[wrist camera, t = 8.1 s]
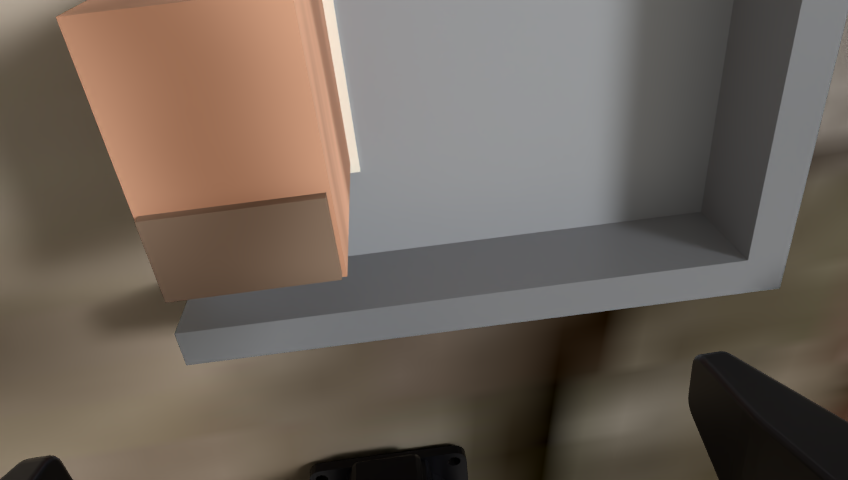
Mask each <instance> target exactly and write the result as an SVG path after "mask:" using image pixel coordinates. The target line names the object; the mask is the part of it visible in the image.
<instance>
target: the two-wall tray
mask: <svg viewBox="0 0 848 480" xmlns="http://www.w3.org/2000/svg"><path fill="white" fill-rule="evenodd" d="M322 2H323V8H324V13H325V19H326V25H327V31H328V37H329V42H330V48H331V54H332V60H333V66H334V71H335V77H336V83H337V89H338V95H339V101H340V106H341V112H342V118H343V124H344V130H345V135H346V141H347V147H348V153H349V159H350V199H349V237H348V274H347V277H342V280H337V281H329V282H321V283H314V284H306V285H298V286H291V287H283V288H275V289H268V290H260V291H252V292H244V293H237V294H229V295H221V296H214V297H206V298H198V299H191V300H187V303H186V305H185V308H184V311H183V313H182V316H181V318H180V321H179V323H178V326H177V329H176V331H175V337H176V339H177V342H178V345H179V347H180V350H181V352H182V355H183V358H184V360H185V363H186V365H192V364H200V363H208V362H215V361H223V360H231V359H238V358H246V357H254V356H262V355H269V354H277V353H285V352H292V351H300V350H308V349H316V348H323V347H331V346H339V345H346V344H354V343H362V342H370V341H377V340H385V339H393V338H400V337H408V336H416V335H424V334H431V333H439V332H447V331H454V330H462V329H470V328H478V327H485V326H493V325H501V324H508V323H516V322H524V321H532V320H539V319H547V318H555V317H562V316H570V315H578V314H586V313H593V312H601V311H609V310H616V309H624V308H632V307H640V306H647V305H655V304H663V303H670V302H678V301H686V300H694V299H701V298H709V297H717V296H724V295H732V294H740V293H748V292H755V291H763V290H771V289H778V288H780V285H781V281H782V277H783V273H784V269H785V265H786V261H787V257H788V253H789V249H790V245H791V241H792V237H793V233H794V229H795V225H796V221H797V216H798V212H799V208H800V204H801V200H802V196H803V192H804V188H805V184H806V180H807V176H808V172H809V168H810V164H811V160H812V156H813V152H814V148H815V144H816V140H817V136H818V132H819V128H820V124H821V119H822V115H823V111H824V107H825V103H826V99H827V95H828V91H829V87H830V83H831V79H832V75H833V71H834V67H835V63H836V59H837V55H838V51H839V47H840V43H841V39H842V35H843V31H844V26H845V22H846V18H847V14H848V0H322Z"/></svg>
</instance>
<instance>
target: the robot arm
mask: <svg viewBox="0 0 848 480" xmlns="http://www.w3.org/2000/svg"><path fill="white" fill-rule="evenodd" d="M688 400H689V407H690V411H691V414H692V416H693V419H694V421H695V424H696V426H697V428H698V431H699V433H700V436H701V438H702V440H703V443H704V445H705V448H706V450H707V452H708V455H709V457H710V460H711V462H712V464H713V467H714V469H715V471H716V474H717V476H718V479H719V480H848V422H847V421H845V420H844V419H842V418H840V417H838V416H837V415H835V414H833V413H831V412H830V411H828V410H826V409H825V408H823V407H821V406H819V405H818V404H816V403H814V402H813V401H811V400H809V399H807V398H806V397H804V396H802V395H800V394H799V393H797V392H795V391H794V390H792V389H790V388H788V387H787V386H785V385H783V384H781V383H780V382H778V381H776V380H775V379H773V378H771V377H769V376H768V375H766V374H764V373H762V372H761V371H759V370H757V369H756V368H754V367H752V366H750V365H749V364H747V363H745V362H744V361H742V360H740V359H738V358H737V357H735V356H733V355H731V354H729V353H727V352H722V351H720V352H713V353H707V354H700V355H698V356H696V357H695V359H694V360H693V364H692V372H691V380H690V388H689V397H688ZM453 457H455V458H453ZM0 480H73V479H72V478H71V476H70V474H69V473H68V471H67V470H66V468H65V466H64V465H63V463H62V461H61V460H60V459H59V458H57V457H56V456H51V455H49V456H42V457H36V458H29V459H26V460H23V461H21V462H20V463H19V464H17V465H16V466H15V467H14V468H13V469H11V470H10V471H9V472H8V473H7V474H6V475H5V476H3V477H2V478H1V479H0ZM310 480H468V473H467V461H466V455H465V451H464V449H463V448H462V447H460V446H446V447H438V448H431V449H423V450H416V451H409V452H401V453H394V454H386V455H379V456H371V457H364V458H357V459H349V460H342V461H334V462H327V463H320V464H316V465H314V466H313V467H312V468H311V470H310Z"/></svg>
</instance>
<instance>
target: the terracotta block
mask: <svg viewBox="0 0 848 480" xmlns="http://www.w3.org/2000/svg"><path fill="white" fill-rule="evenodd" d="M56 19H57V21H58V24H59V27H60V29H61V32H62V34H63V37H64V40H65V42H66V45H67V47H68V50H69V52H70V55H71V58H72V60H73V63H74V65H75V68H76V71H77V73H78V76H79V78H80V81H81V83H82V86H83V89H84V91H85V94H86V96H87V99H88V102H89V104H90V107H91V109H92V112H93V114H94V117H95V120H96V122H97V125H98V127H99V130H100V133H101V135H102V138H103V140H104V143H105V146H106V148H107V151H108V153H109V156H110V158H111V161H112V164H113V166H114V169H115V171H116V174H117V177H118V179H119V182H120V184H121V187H122V189H123V192H124V195H125V197H126V200H127V202H128V205H129V208H130V210H131V213H132V215H133V218H134V220H135V222H134V223H135V225H136V228H137V230H138V233H139V236H140V238H141V241H142V243H143V246H144V249H145V251H146V254H147V256H148V259H149V261H150V264H151V267H152V269H153V272H154V274H155V277H156V279H157V282H158V285H159V287H160V290H161V292H162V295H163V298H164V300H165V303H168V302H175V301H183V300H191V299H198V298H206V297H214V296H221V295H229V294H237V293H244V292H252V291H260V290H268V289H275V288H283V287H291V286H298V285H306V284H314V283H321V282H329V281H337V280H342V277H347V274H348V237H349V199H350V159H349V153H348V147H347V141H346V135H345V130H344V124H343V118H342V112H341V106H340V101H339V95H338V89H337V83H336V77H335V71H334V66H333V60H332V54H331V48H330V42H329V37H328V31H327V25H326V19H325V13H324V8H323V2H322V0H87V1H85V2H83V3H81V4H79V5H77V6H75V7H74V8H72V9H70V10H68V11H66V12H64V13H62V14H60V15H58V16H56Z"/></svg>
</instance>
